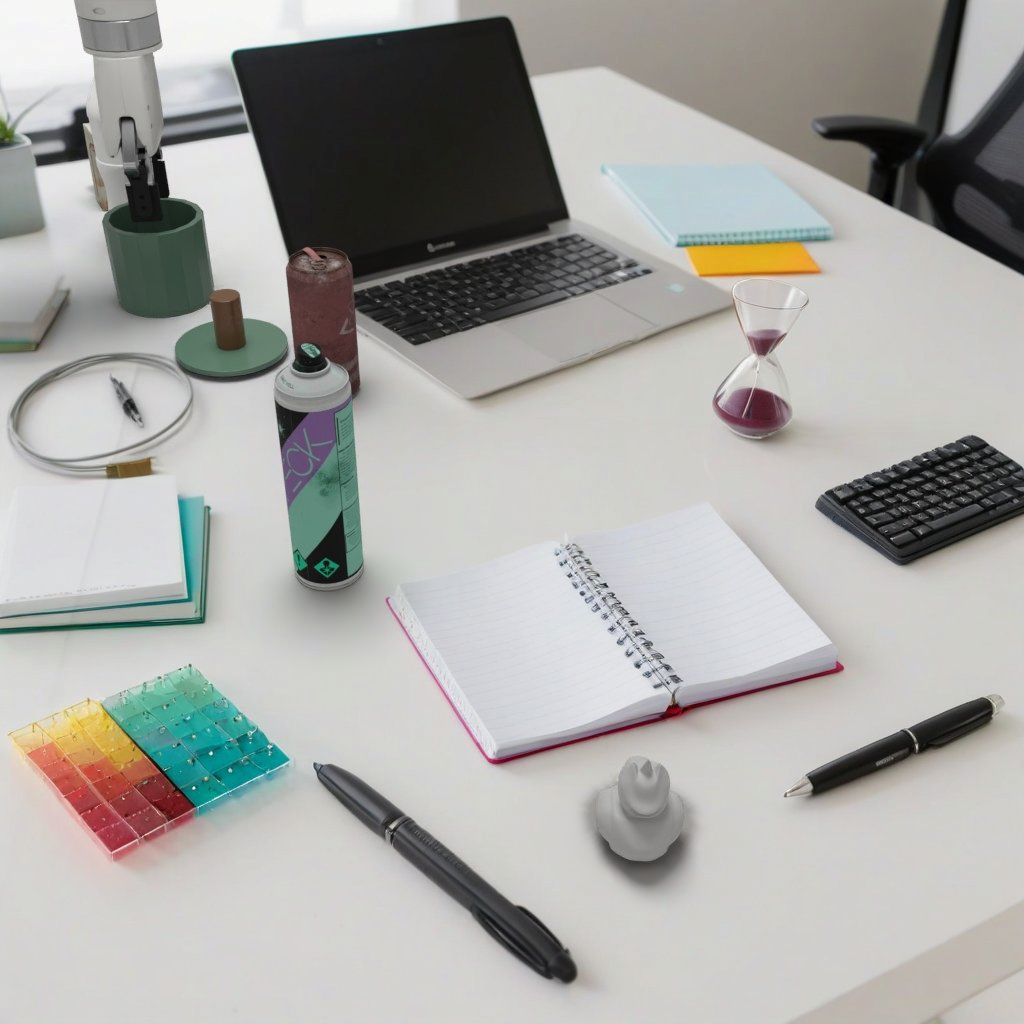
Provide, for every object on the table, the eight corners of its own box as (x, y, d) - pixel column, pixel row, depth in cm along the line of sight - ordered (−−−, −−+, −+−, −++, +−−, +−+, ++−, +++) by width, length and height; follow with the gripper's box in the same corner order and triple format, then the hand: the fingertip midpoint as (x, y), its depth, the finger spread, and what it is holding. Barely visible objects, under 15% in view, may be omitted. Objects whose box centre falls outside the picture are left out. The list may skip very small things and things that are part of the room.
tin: (112, 319, 125) (95, 237, 119) (125, 277, 133) (110, 198, 128) (210, 315, 126) (198, 233, 121) (217, 274, 135) (206, 196, 129)
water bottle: (128, 234, 143) (88, 22, 128) (184, 239, 142) (150, 26, 127) (104, 259, 137) (59, 39, 122) (161, 263, 136) (124, 43, 121)
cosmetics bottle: (103, 211, 148) (88, 134, 142) (95, 200, 151) (80, 123, 145) (144, 205, 150) (130, 127, 144) (135, 193, 153) (121, 117, 147)
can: (333, 366, 118) (322, 237, 110) (372, 390, 114) (364, 259, 106) (284, 387, 115) (269, 256, 106) (323, 412, 111) (311, 278, 103)
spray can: (312, 541, 95) (289, 324, 83) (374, 554, 94) (360, 336, 82) (283, 582, 91) (254, 359, 79) (347, 597, 90) (328, 373, 78)
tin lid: (170, 384, 115) (159, 324, 110) (182, 330, 124) (172, 272, 120) (287, 379, 116) (280, 319, 112) (289, 325, 125) (283, 268, 121)
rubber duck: (594, 876, 70) (603, 789, 65) (591, 789, 75) (599, 703, 70) (683, 879, 70) (699, 793, 65) (675, 793, 75) (689, 707, 70)
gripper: (95, 10, 119) (126, 180, 130) (65, 57, 106) (103, 243, 116) (169, 9, 120) (194, 178, 131) (149, 56, 106) (179, 240, 117)
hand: (151, 207), depth 124 cm, fingers open, 5 cm apart
